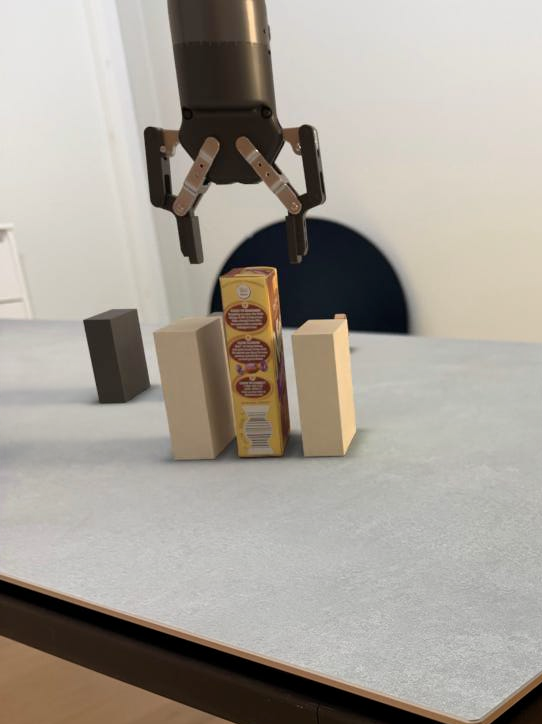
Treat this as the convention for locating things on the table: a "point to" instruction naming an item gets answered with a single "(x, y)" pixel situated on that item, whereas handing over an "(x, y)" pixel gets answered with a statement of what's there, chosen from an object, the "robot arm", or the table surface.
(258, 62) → the robot arm
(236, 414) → the candy box
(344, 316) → the perforated watch strap
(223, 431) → the beige blocks
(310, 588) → the table surface
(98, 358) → the grey rectangular blocks
